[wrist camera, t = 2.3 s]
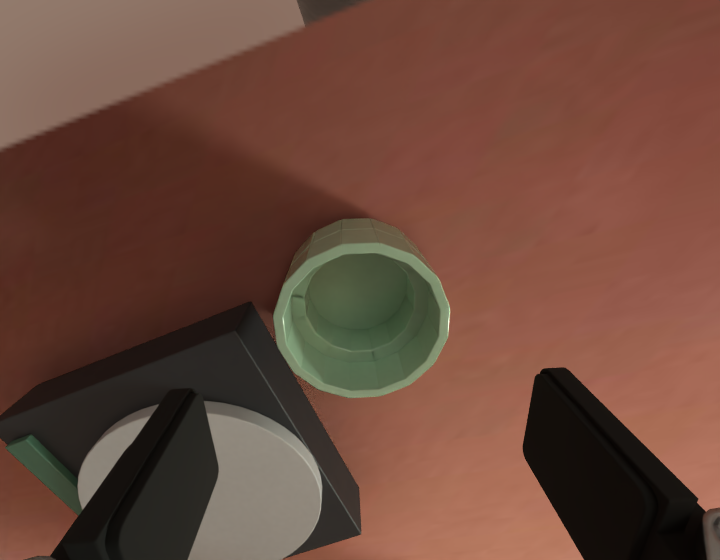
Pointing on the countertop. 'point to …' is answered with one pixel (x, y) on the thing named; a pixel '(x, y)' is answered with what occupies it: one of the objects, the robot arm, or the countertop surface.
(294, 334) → the bowl
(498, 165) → the countertop surface
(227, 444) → the scale
